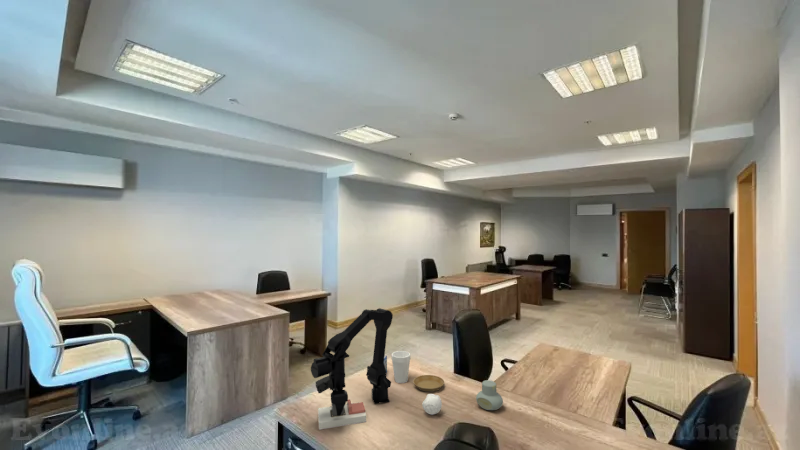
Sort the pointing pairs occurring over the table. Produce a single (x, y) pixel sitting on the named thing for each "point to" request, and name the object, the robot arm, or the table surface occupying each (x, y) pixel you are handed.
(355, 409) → the pink toy block
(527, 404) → the table surface
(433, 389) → the plant saucer
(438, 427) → the table surface
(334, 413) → the plug
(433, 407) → the crumpled paper ball
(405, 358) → the foam cup
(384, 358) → the medicine box
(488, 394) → the air freshener
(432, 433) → the table surface
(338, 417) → the socket plate
